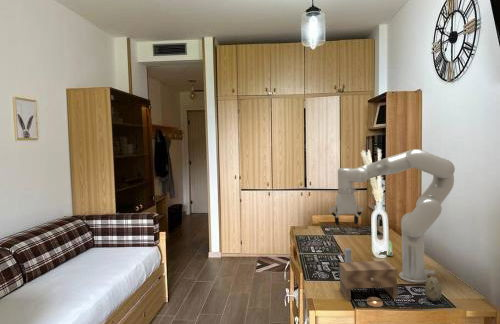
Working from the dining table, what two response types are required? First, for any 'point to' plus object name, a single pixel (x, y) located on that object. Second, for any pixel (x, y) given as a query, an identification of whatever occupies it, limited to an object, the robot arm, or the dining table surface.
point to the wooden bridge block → (368, 277)
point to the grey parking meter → (347, 254)
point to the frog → (390, 249)
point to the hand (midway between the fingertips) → (346, 224)
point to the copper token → (374, 302)
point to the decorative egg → (433, 289)
